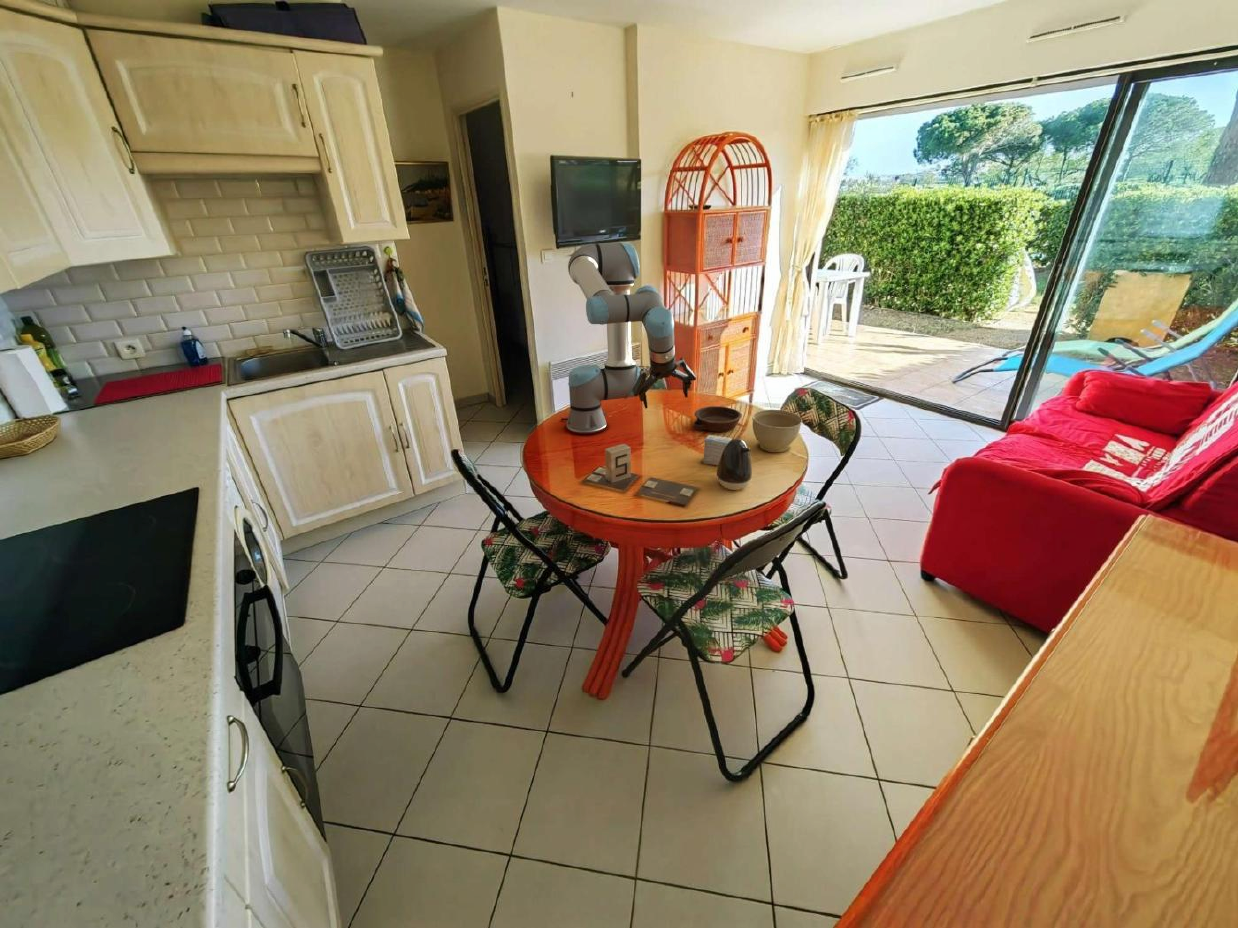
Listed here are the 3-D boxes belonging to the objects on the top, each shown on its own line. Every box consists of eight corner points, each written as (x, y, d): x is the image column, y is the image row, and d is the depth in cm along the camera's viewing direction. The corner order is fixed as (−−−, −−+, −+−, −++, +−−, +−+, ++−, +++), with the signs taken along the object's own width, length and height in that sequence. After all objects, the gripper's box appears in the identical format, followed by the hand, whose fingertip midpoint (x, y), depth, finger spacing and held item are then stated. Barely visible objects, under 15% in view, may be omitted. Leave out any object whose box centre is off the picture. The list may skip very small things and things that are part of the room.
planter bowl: (740, 441, 182) (743, 412, 177) (779, 435, 186) (783, 407, 181) (765, 460, 168) (769, 429, 163) (807, 453, 172) (812, 423, 167)
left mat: (582, 483, 156) (582, 480, 155) (599, 468, 164) (599, 465, 164) (623, 492, 150) (623, 489, 149) (639, 476, 159) (639, 473, 158)
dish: (754, 426, 194) (756, 414, 192) (711, 440, 183) (712, 427, 181) (722, 413, 207) (723, 401, 205) (680, 425, 196) (680, 413, 194)
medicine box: (730, 462, 167) (732, 437, 163) (726, 467, 163) (728, 443, 159) (706, 458, 170) (708, 434, 166) (702, 463, 166) (704, 439, 162)
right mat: (636, 495, 148) (636, 492, 148) (650, 479, 157) (650, 476, 157) (684, 507, 142) (685, 503, 142) (697, 489, 151) (697, 486, 151)
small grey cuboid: (631, 477, 157) (631, 447, 153) (612, 483, 154) (611, 453, 149) (624, 472, 160) (624, 443, 155) (605, 478, 156) (604, 449, 152)
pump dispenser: (730, 497, 146) (735, 449, 140) (708, 482, 155) (712, 436, 148) (758, 489, 151) (763, 442, 144) (735, 475, 159) (739, 430, 152)
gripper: (624, 375, 147) (631, 418, 165) (707, 352, 147) (705, 398, 165) (618, 357, 151) (626, 401, 169) (698, 335, 151) (698, 381, 169)
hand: (665, 399), depth 167 cm, fingers open, 13 cm apart
